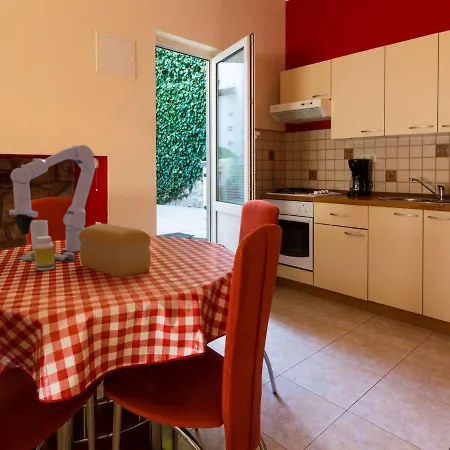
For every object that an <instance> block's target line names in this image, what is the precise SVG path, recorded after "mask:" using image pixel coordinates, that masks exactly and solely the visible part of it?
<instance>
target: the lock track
mask: <svg viewBox="0 0 450 450" xmlns="http://www.w3.org/2000/svg"><path fill="white" fill-rule="evenodd" d="M17 260H23V261H28V262H35V259H32V260H31V259H25V255H23V256H21V257H19V256H18V257H17Z"/></svg>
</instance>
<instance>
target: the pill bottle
mask: <svg viewBox="0 0 450 450" xmlns="http://www.w3.org/2000/svg"><path fill="white" fill-rule="evenodd" d="M36 242H37V244H35V246H34V250H33V251H35V261H34V262H35V263H34V264H35V265H34V266H35V269H36V270H37V271H50V270H52V269H55V268H56V259H55V257H54V253H55V246H54V243H53V242H52V237H51V236H50V235H48V236H41V237H37V238H36Z"/></svg>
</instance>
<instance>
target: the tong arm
mask: <svg viewBox="0 0 450 450" xmlns="http://www.w3.org/2000/svg"><path fill="white" fill-rule="evenodd" d="M70 254H74V252H72V251H65V252H63V253H62V255H67V256H68V255H70ZM54 257H55V261H56V260H58V261H64V262H65V261H68V260H67V257H65V256H58V255H54Z"/></svg>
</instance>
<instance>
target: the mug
mask: <svg viewBox="0 0 450 450" xmlns="http://www.w3.org/2000/svg"><path fill="white" fill-rule="evenodd" d="M29 230H30V237H31V250H32V251H34V246H35V244H37V242H36V238H37V237H41V236H49V227H48V220H47V219H46V220H45V219H37V220H36V219H35V220H32V222H31V224H30V228H29Z"/></svg>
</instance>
